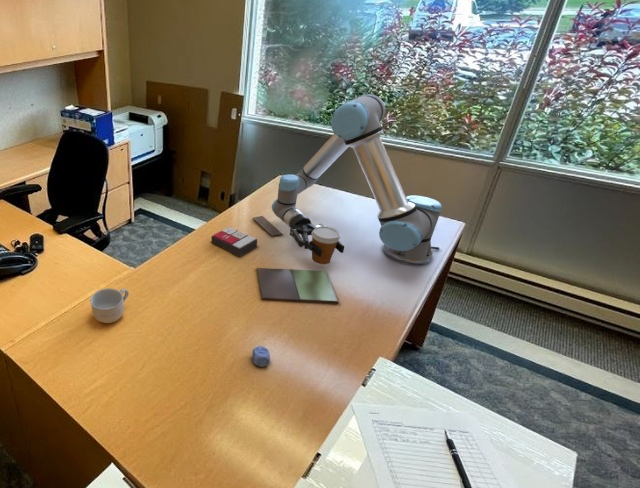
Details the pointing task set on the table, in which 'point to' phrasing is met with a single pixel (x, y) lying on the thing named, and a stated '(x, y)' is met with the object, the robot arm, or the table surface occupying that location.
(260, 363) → the decorative dice
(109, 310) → the teacup
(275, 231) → the wooden plank
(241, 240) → the red and grey box
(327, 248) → the disposable coffee cup
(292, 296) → the board
